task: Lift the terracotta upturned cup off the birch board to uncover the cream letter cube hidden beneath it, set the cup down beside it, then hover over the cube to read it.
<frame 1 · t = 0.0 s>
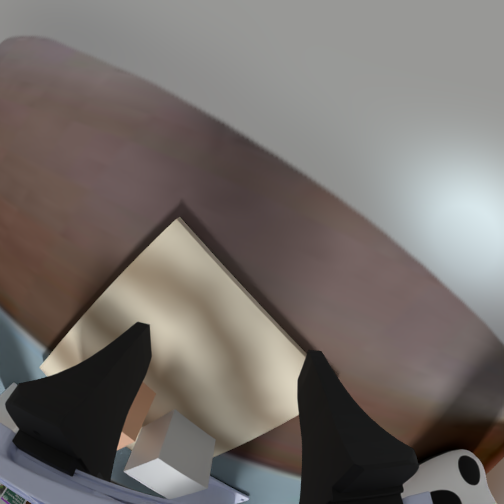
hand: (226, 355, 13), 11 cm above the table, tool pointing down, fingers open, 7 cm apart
terracotta cover: (118, 385, 25), point 1 cm above the table, touching birch board
grey cover: (177, 434, 26), point 1 cm above the table, touching birch board
milk container: (421, 475, 31), on the table
syrup box: (28, 467, 35), on the table
birch board: (168, 383, 26), on the table
jar: (28, 406, 29), on the table
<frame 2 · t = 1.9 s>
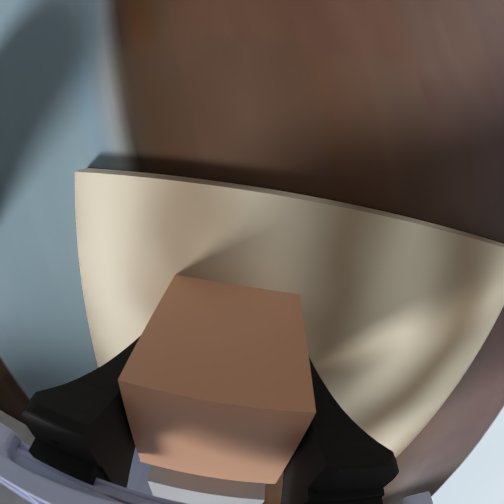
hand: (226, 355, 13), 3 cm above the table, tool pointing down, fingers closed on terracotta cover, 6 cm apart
terracotta cover: (229, 333, 14), point 1 cm above the table, touching birch board, gripper
grey cover: (217, 422, 18), point 1 cm above the table, touching birch board
white triangular prism: (21, 434, 27), on the table
birch board: (294, 371, 17), on the table
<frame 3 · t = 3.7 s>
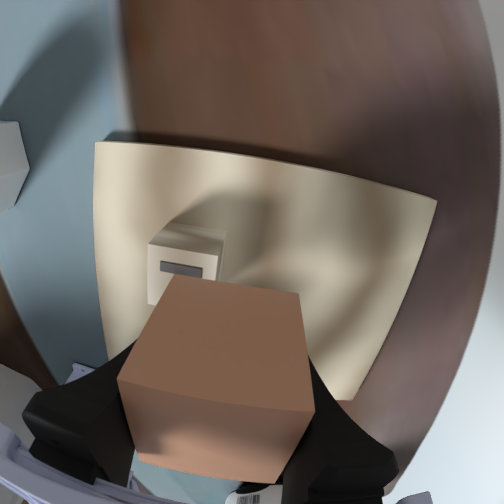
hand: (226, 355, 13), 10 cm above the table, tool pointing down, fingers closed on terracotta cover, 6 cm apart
letter cube: (194, 253, 21), point 1 cm above the table, touching birch board
terracotta cover: (229, 333, 14), point 8 cm above the table, touching gripper
milk container: (277, 491, 39), on the table
white triangular prism: (22, 392, 33), on the table
birch board: (246, 293, 23), on the table
jar: (2, 162, 19), on the table
when the fingers open (4 cm above the table, at t = 5.7 s): terracotta cover drops 1 cm, resting on birch board.
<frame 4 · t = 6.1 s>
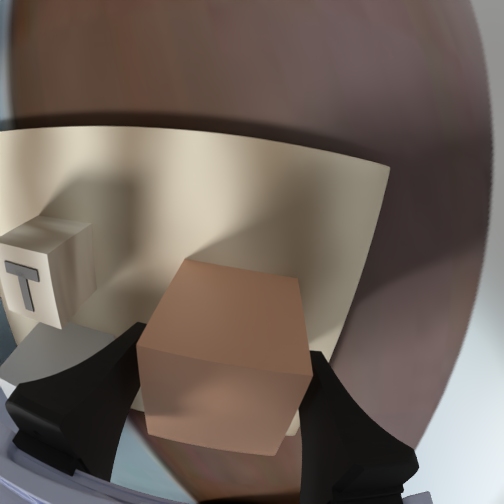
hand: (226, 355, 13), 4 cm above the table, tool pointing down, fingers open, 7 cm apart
letter cube: (66, 252, 15), point 1 cm above the table, touching birch board
terracotta cover: (233, 315, 16), point 1 cm above the table, touching birch board
grey cover: (84, 355, 18), point 1 cm above the table, touching birch board
birch board: (134, 301, 17), on the table
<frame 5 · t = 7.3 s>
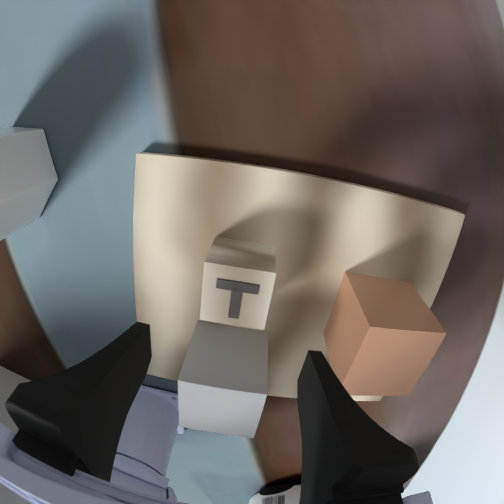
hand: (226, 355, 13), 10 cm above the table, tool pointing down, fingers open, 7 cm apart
letter cube: (241, 267, 21), point 1 cm above the table, touching birch board
terracotta cover: (366, 308, 22), point 1 cm above the table, touching birch board
grey cover: (229, 352, 24), point 1 cm above the table, touching birch board
milk container: (298, 490, 39), on the table
white triangular prism: (41, 402, 34), on the table
birch board: (288, 304, 23), on the table
jar: (25, 171, 20), on the table
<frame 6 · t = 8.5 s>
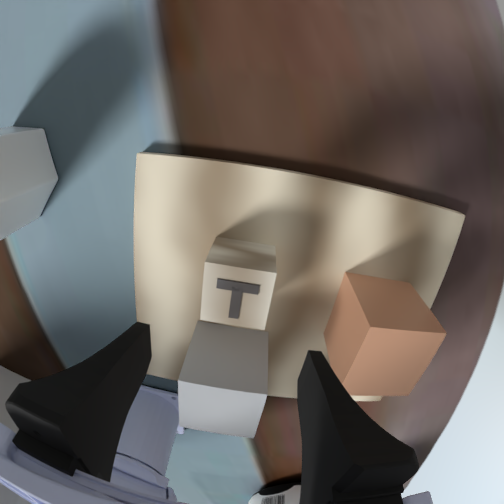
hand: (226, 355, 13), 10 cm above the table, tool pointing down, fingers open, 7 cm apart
letter cube: (241, 267, 21), point 1 cm above the table, touching birch board
terracotta cover: (367, 309, 22), point 1 cm above the table, touching birch board
grey cover: (229, 352, 24), point 1 cm above the table, touching birch board
milk container: (298, 490, 39), on the table
white triangular prism: (41, 402, 34), on the table
birch board: (288, 304, 23), on the table
jar: (25, 170, 20), on the table
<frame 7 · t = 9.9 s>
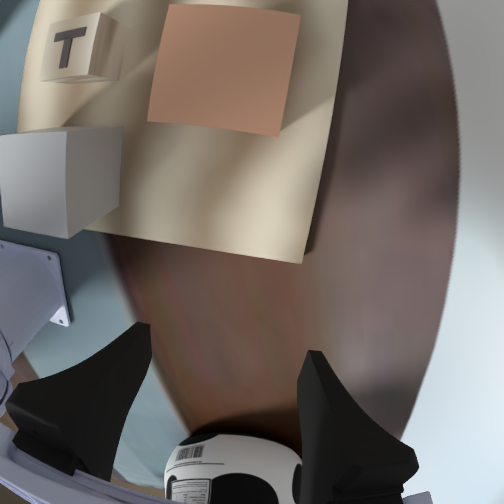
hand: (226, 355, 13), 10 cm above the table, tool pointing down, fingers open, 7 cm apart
letter cube: (99, 56, 15), point 1 cm above the table, touching birch board
terracotta cover: (237, 84, 16), point 1 cm above the table, touching birch board
grey cover: (87, 164, 19), point 1 cm above the table, touching birch board
milk container: (238, 452, 34), on the table
birch board: (148, 95, 18), on the table
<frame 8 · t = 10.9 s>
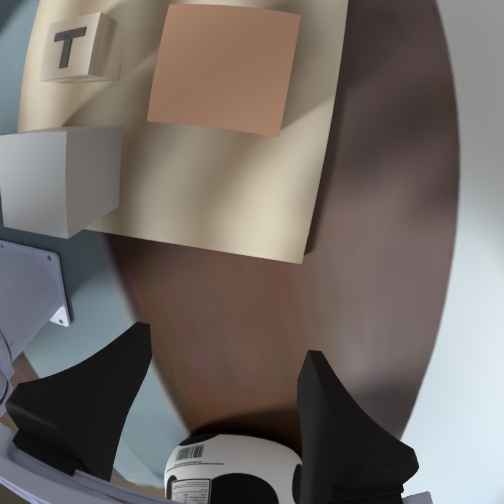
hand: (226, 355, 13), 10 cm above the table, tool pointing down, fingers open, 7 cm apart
letter cube: (99, 56, 15), point 1 cm above the table, touching birch board
terracotta cover: (237, 84, 16), point 1 cm above the table, touching birch board
grey cover: (87, 164, 19), point 1 cm above the table, touching birch board
milk container: (238, 452, 34), on the table
birch board: (148, 95, 18), on the table
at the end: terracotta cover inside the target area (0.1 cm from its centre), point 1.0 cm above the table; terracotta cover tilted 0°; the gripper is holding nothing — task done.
